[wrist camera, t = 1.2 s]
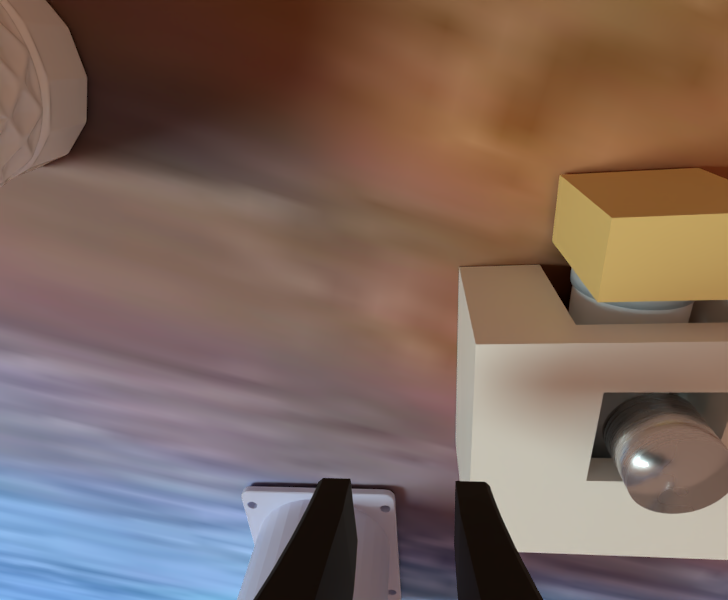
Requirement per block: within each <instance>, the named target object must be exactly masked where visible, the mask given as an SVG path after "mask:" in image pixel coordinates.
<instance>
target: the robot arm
mask: <svg viewBox="0 0 728 600" xmlns="http://www.w3.org/2000/svg"><path fill="white" fill-rule="evenodd" d="M242 501H243V504H244V508H245V512H246V515H247V519H248V523H249V526H250V530H251V534H252V537H253V541H254V545H255V546H254V549H253V552H252V555H251V558H250V561H249V564H248V568H247V571H246V574H245V577H244V580H243V583H242V586H241V589H240V592H239V595H238V599H237V600H401V585H400V569H399V553H398V537H397V520H396V504H395V495H394V493H393V492H391V491H389V490H385V489H351V480H350V479H334V478H323V479H322V480H320V481H319V482H318V485H317V487H316V488H304V487H261V486H249V487H246V488H245V489H244V490H243V493H242ZM384 505H386V506H384ZM454 546H455V562H456V577H457V591H458V600H543V598H542V597H541V595H540V593H539V591H538V589H537V587H536V585H535V584H534V582H533V580H532V578H531V576H530V574H529V572H528V570H527V569H526V567H525V565H524V563H523V561H522V559H521V557H520V555H519V553H518V551H517V549H516V547H515V545H514V543H513V541H512V539H511V536H510V534H509V532H508V530H507V528H506V526H505V523H504V521H503V519H502V517H501V514H500V512H499V509H498V507H497V504H496V502H495V499H494V497H493V494H492V491H491V488H490V486H489V485H488V484H487V483H486V482H477V481H456V490H455V536H454Z"/></svg>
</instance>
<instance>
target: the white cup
mask: <svg viewBox="0 0 728 600" xmlns="http://www.w3.org/2000/svg"><path fill="white" fill-rule="evenodd" d="M86 121H87V75H86V73H85V70H84V67H83V65H82V62H81V60H80V57H79V54H78V52H77V49H76V46H75V44H74V41H73V38H72V36H71V33H70V31H69V28H68V27H67V25H66V24H65V23H64V22H63V20H62V19H61V18H60V17H59V16H58V14H57V13H56V12H55V11H54V9H53V8H52V7H51V6H50V5H49V3H48V2H47V1H46V0H0V187H2V186H4V185H5V184H6V183H7V182H8V181H9V180H10V179H12V178H14V177H16V176H19V175H22V174H25V173H27V172H30V171H33V170H35V169H38V168H40V167H42V166H44V165H46V164H48V163H50V162H52V161H54V160H57V159H59V158H61V157H63V156H65V155H67V154H68V153H69V152H70V150H71V148H72V147H73V145H74V143H75V141H76V140H77V138H78V136H79V134H80V133H81V131H82V129H83V127H84V126H85V124H86Z"/></svg>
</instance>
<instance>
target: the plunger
mask: <svg viewBox="0 0 728 600" xmlns="http://www.w3.org/2000/svg"><path fill="white" fill-rule="evenodd" d="M602 438H603V441H604V443H605V445H606V447H607V449H608V451H609V453H610V455H611V457H612V459H613V462H614V464H615V466H616V468H617V470H618V472H619V474H620V476H621V478H622V480H623V482H624V484H625V486H626V488H627V490H628V492H629V494H630V496H631V497H632V499H633V500H634V501H635V502H636V503H637V504H639V505H640V506H642V507H644V508H646V509H648V510H651V511H654V512H659V513H666V514H679V513H687V512H692V511H696V510H699V509H702V508H705V507H707V506H710V505H712V504H714V503H715V502H717V501H719V500H720V499H721V498H723V497H724V496H725V495H726V494H727V493H728V449H727V447H726V446H725V445H724V444H723V442H722V441H721V440H720V439H719V437H718V436H717V435H716V434H715V432H714V431H713V430H712V429H711V427H710V426H709V425H708V424H707V422H706V421H705V420H704V419H703V417H702V416H701V415H700V414H699V412H698V411H697V410H696V408H695V407H694V406H693V405H692V404H691V403H690V402H689V401H688V400H686V399H684V398H682V397H680V396H678V395H674V394H670V393H648V394H643V395H639V396H636V397H633V398H631V399H629V400H626V401H625V402H623V403H621V404H620V405H619V406H617V407H616V408H615V409H614V410H613V411H612V412H611V413H610V414H609V415H608V417H607V418H606V420H605V422H604V424H603V428H602Z"/></svg>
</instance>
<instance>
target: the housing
mask: <svg viewBox="0 0 728 600" xmlns="http://www.w3.org/2000/svg"><path fill="white" fill-rule="evenodd" d="M604 392H669V393H670V394H674V395H678V396H680V397H682V398H684V399H686V400H688V401H689V402H690V403H691V404H692V405H693V406H694V407H695V408H696V410H697V411H698V412H699V414H700V415H701V416H702V417H703V419H704V420H705V421H706V422H707V424H708V425H709V426H710V427H711V429H712V430H713V431H714V432H715V434H716V435H717V436H718V437H719V439H720V440H721V441H722V442H723V444H724V445H725V446H726V447H727V449H728V300H696V301H695V302H694V303H693V307H692V310H691V314H690V318H689V321H688V323H661V324H598V325H576V324H575V323H574V321H573V319H572V318H571V316H570V314H569V313H568V311H567V309H566V308H565V306H564V304H563V303H562V301H561V299H560V298H559V296H558V294H557V293H556V291H555V289H554V288H553V286H552V284H551V283H550V281H549V279H548V278H547V276H546V274H545V273H544V271H543V269H542V268H541V266H540V265H509V266H476V267H459V298H458V347H457V397H456V451H457V460H458V469H459V478H460V481H477V482H486V483H487V484H488V485H489V486H490V488H491V491H492V494H493V497H494V499H495V502H496V504H497V507H498V509H499V512H500V514H501V517H502V519H503V521H504V523H505V526H506V528H507V530H508V532H509V534H510V536H511V539H512V541H513V543H514V545H515V547H516V549H517V551H518V552H530V553H557V554H583V555H610V556H637V557H663V558H690V559H717V560H728V493H727V494H726V495H725V496H724V497H723V498H721V499H720V500H719V501H717V502H715V503H714V504H712V505H710V506H707V507H705V508H702V509H699V510H696V511H692V512H687V513H679V514H666V513H659V512H654V511H651V510H648V509H646V508H644V507H642V506H640V505H639V504H637V503H636V502H635V501H634V500H633V499H632V497H631V496H630V494H629V492H628V490H627V488H626V486H625V484H624V482H623V480H622V478H621V476H620V474H619V472H618V470H617V468H616V466H615V464H614V462H613V459H612V458H591V455H592V449H593V444H594V439H595V434H596V429H597V424H598V419H599V414H600V409H601V404H602V399H603V394H604Z"/></svg>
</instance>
